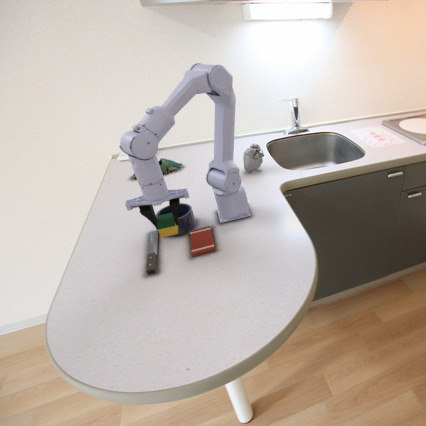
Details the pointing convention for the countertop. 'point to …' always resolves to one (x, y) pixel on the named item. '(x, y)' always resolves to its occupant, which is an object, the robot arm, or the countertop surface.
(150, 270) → the knife
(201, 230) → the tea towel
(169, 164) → the green clog
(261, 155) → the heart
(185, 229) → the pot
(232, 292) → the countertop surface
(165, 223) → the sponge
